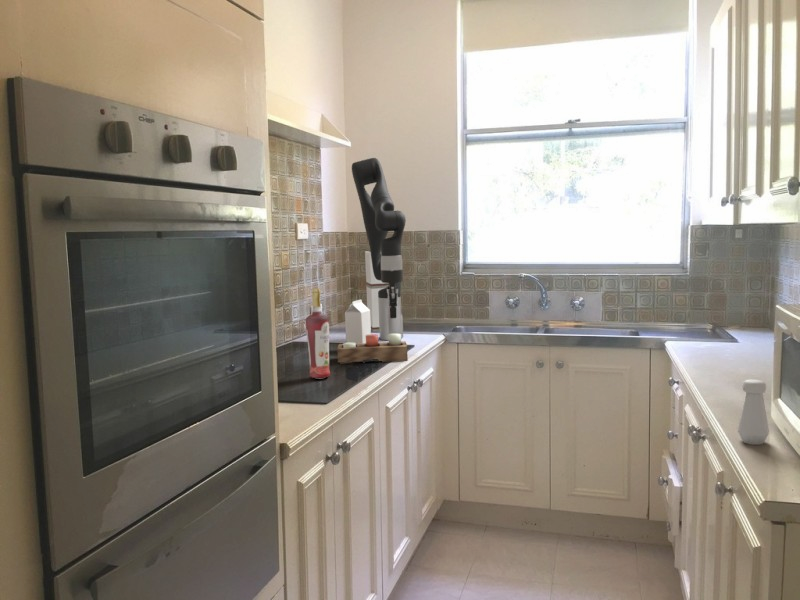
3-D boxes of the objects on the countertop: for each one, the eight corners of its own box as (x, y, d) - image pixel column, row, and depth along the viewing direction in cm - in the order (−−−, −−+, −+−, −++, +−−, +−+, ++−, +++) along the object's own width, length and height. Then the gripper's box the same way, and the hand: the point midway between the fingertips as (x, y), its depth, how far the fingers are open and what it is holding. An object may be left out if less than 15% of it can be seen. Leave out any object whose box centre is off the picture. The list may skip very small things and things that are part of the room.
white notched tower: (396, 330, 303) (393, 251, 298) (372, 332, 300) (369, 252, 296) (390, 326, 314) (388, 250, 310) (368, 328, 311) (365, 251, 307)
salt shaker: (739, 435, 146) (741, 376, 145) (770, 439, 143) (772, 379, 141) (735, 443, 141) (736, 382, 140) (766, 448, 138) (768, 385, 137)
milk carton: (371, 349, 260) (369, 299, 258) (363, 352, 254) (360, 301, 252) (355, 348, 263) (353, 299, 261) (346, 351, 257) (344, 301, 255)
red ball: (365, 346, 238) (365, 336, 238) (366, 344, 243) (365, 334, 242) (378, 346, 238) (378, 336, 238) (378, 343, 243) (378, 334, 242)
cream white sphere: (388, 345, 239) (388, 335, 238) (388, 343, 243) (388, 333, 242) (401, 345, 239) (401, 335, 238) (400, 342, 243) (400, 333, 243)
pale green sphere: (343, 354, 238) (342, 344, 238) (343, 352, 242) (343, 342, 242) (355, 354, 238) (355, 344, 238) (356, 351, 243) (355, 342, 242)
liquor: (321, 381, 209) (317, 290, 206) (303, 379, 213) (298, 290, 210) (336, 376, 215) (332, 288, 212) (318, 374, 219) (314, 287, 216)
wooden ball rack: (338, 363, 236) (337, 349, 235) (339, 357, 245) (338, 344, 245) (407, 360, 237) (407, 346, 236) (405, 355, 246) (405, 341, 246)
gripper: (380, 267, 244) (382, 315, 246) (381, 270, 231) (382, 321, 233) (401, 267, 244) (403, 315, 246) (403, 269, 231) (404, 320, 233)
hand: (393, 317), depth 240 cm, fingers closed
